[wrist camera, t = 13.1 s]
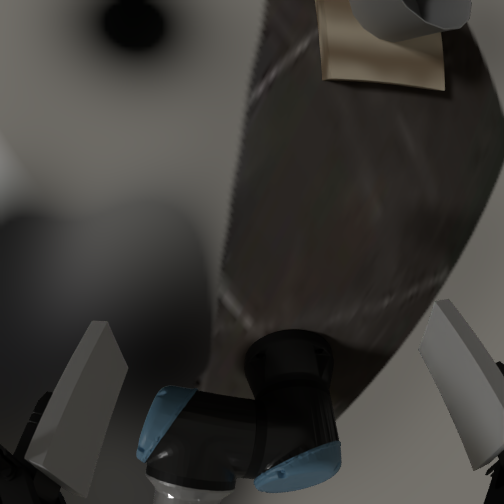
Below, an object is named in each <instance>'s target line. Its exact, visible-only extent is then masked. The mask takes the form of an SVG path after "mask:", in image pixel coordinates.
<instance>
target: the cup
mask: <svg viewBox="0 0 504 504" xmlns="http://www.w3.org/2000/svg"><path fill="white" fill-rule="evenodd" d="M349 2H350V6H351V9H352V13H353V15H354V17H355V18H356V19H357V21H358V22H359V23H360V25H361V26H362V27H363V29H365V30H366V31H368V32H369V33H371V34H372V35H374V36H375V37H377V38H378V39H382V40H386V41H390V42H399V41H404V40H409V39H413V38H417V37H421V36H425V35H430V34H434V33H439V32H444V31H449V30H454V29H459V28H461V27H462V26H463V25H464V24H465V23H466V22H467V21H468V20H469V19H470V12H471V5H472V3H471V0H349Z"/></svg>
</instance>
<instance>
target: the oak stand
mask: <svg viewBox="0 0 504 504" xmlns="http://www.w3.org/2000/svg"><path fill="white" fill-rule="evenodd" d="M315 4H316V13H317V22H318V31H319V42H320V53H321V66H322V80H335V81H356V82H370V83H382V84H391V85H400V86H408V87H415V88H421V89H428V90H441V91H445V78H444V60H443V47H442V37H441V32H439V33H434V34H430V35H425V36H421V37H417V38H413V39H409V40H404V41H399V42H390V41H386V40H382V39H378V38H377V37H375V36H374V35H372V34H371V33H369V32H368V31H366V30H365V29H363V27H362V26H361V25H360V23H359V22H358V21H357V19H356V18H355V17H354V15H353V13H352V9H351V6H350V2H349V0H315Z"/></svg>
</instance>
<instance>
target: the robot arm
mask: <svg viewBox="0 0 504 504" xmlns="http://www.w3.org/2000/svg"><path fill="white" fill-rule="evenodd" d="M418 350H419V352H420V354H421V356H422V358H423V359H424V361H425V363H426V365H427V367H428V369H429V371H430V373H431V375H432V377H433V379H434V381H435V383H436V385H437V387H438V389H439V391H440V393H441V396H442V398H443V400H444V402H445V404H446V406H447V408H448V410H449V413H450V415H451V417H452V419H453V422H454V424H455V426H456V428H457V430H458V433H459V435H460V438H461V440H462V443H463V445H464V448H465V450H466V452H467V455H468V458H469V460H470V463H471V465H472V468H473V471H475V470H477V469H479V468H481V467H483V466H485V465H487V464H489V463H490V462H491V461H492V460H493V459H494V458H495V457H497V456H498V458H499V460H498V461H497V462H496V463H495V464H494V465H493V466H491V467H490V468H489V469H488V470H487V472H486V474H485V475H488V474H490V473H491V472H492V471H493V470H494V472H493V473H492V474H491V477H492V480H491V483H490V486H489V489H488V492H487V495H486V498H485V501H484V504H504V364H503V363H501V362H500V361H499V362H497V363H495V362H494V361H493V359H492V357H491V356H490V354H489V353H488V352H487V350H486V349H485V347H484V346H483V344H482V343H481V341H480V340H479V338H478V337H477V336H476V334H475V333H474V331H473V330H472V329H471V327H470V326H469V325H468V323H467V322H466V321H465V319H464V318H463V317H462V315H461V314H460V313H459V311H458V310H457V309H456V308H455V306H454V305H453V304H452V302H451V301H450V300H449V299H446V300H440V301H435V302H434V305H433V309H432V312H431V315H430V318H429V321H428V324H427V327H426V330H425V332H424V335H423V338H422V341H421V343H420V346H419V349H418ZM127 370H128V366H127V364H126V362H125V360H124V358H123V356H122V354H121V351H120V349H119V347H118V345H117V342H116V340H115V338H114V335H113V333H112V331H111V328H110V326H109V324H108V322H107V321H92V322H91V324H90V326H89V327H88V329H87V331H86V332H85V335H84V336H83V338H82V340H81V341H80V343H79V345H78V347H77V348H76V350H75V352H74V354H73V356H72V357H71V359H70V361H69V363H68V365H67V367H66V369H65V371H64V373H63V375H62V376H61V378H60V380H59V382H58V385H57V386H56V388H55V390H54V392H53V393H52V392H46V393H45V394H44V395H43V396H42V397H41V398H40V400H38V402H37V405H36V406H35V409H34V411H33V414H32V415H31V417H30V419H29V422H28V423H27V425H26V427H25V430H24V432H23V434H22V436H21V439H20V441H19V443H18V446H17V448H16V450H15V452H14V454H13V455H12V454H11V453H10V452H8V451H7V450H6V449H5V448H4V447H3V446H2V445H1V444H0V504H66V502H65V500H64V497H63V496H62V494H61V492H60V488H61V487H62V488H64V489H65V490H66V491H68V492H70V493H72V494H75V495H78V496H81V497H84V498H87V495H88V492H89V488H90V485H91V481H92V477H93V474H94V470H95V467H96V463H97V460H98V456H99V453H100V450H101V446H102V443H103V440H104V437H105V433H106V430H107V427H108V424H109V421H110V418H111V415H112V412H113V409H114V407H115V404H116V401H117V398H118V395H119V392H120V389H121V387H122V384H123V381H124V378H125V375H126V373H127ZM244 370H245V376H246V378H247V381H248V383H249V386H250V388H251V390H252V393H253V395H254V398H255V400H252V399H245V398H239V397H232V396H226V395H220V394H214V393H209V392H203V391H198V389H197V388H194V389H189V388H183V387H177V386H166V387H164V388H162V389H161V390H160V391H159V392H158V394H157V395H156V397H155V399H154V401H153V403H152V405H151V407H150V410H149V412H148V415H147V418H146V421H145V423H144V426H143V429H142V432H141V436H140V439H139V446H138V449H137V458H138V459H140V460H141V461H142V462H144V463H146V462H147V468H146V476H147V478H148V479H149V480H150V481H151V483H152V484H153V485H154V487H155V496H154V502H153V504H221V500H222V499H223V498H224V497H226V496H227V495H229V494H231V493H232V492H233V491H234V490H235V483H236V479H237V478H249V479H254V485H255V487H256V489H258V490H259V491H262V492H263V491H265V492H267V493H281V492H289V491H295V490H300V489H304V488H308V487H311V486H314V485H317V484H319V483H322V482H324V481H326V480H328V479H330V478H331V477H332V476H334V475H335V474H336V473H337V472H338V471H339V469H340V467H341V448H340V446H341V442H340V441H339V438H338V432H337V427H336V422H335V417H334V412H333V407H332V402H331V398H330V393H329V388H330V382H331V377H332V371H333V356H332V352H331V348H330V346H329V344H328V343H327V342H326V341H325V340H324V339H323V338H322V337H320V336H319V335H317V334H314V333H311V332H308V331H302V330H285V331H279V332H275V333H272V334H269V335H267V336H264V337H262V338H261V339H259V340H258V341H256V342H255V343H254V344H253V345H252V346H251V347H250V348H249V349H248V351H247V353H246V356H245V367H244Z"/></svg>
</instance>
